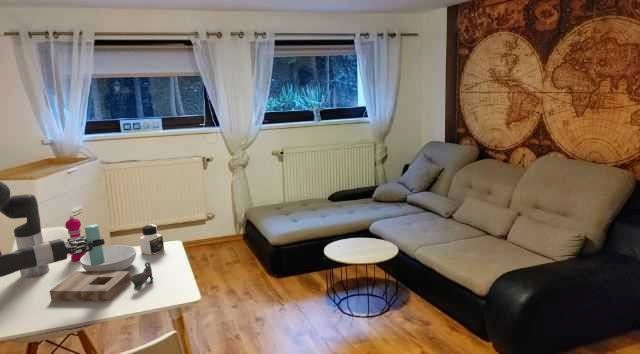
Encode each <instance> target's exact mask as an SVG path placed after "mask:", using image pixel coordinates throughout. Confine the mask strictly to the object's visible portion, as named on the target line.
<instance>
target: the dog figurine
mask: <svg viewBox="0 0 640 354" xmlns="http://www.w3.org/2000/svg"><path fill="white" fill-rule="evenodd" d="M144 265H145V266H144V267H145V268H144V269H143V271H142V272H140V273H135V274H131V276H130V280H131V282H130V283H132V284H133V288H134V290H137V291H140V290H141V289H142V286H143V285H144V284H145V283H147V281H148V279H149V283H148V284H149V285H152V284H153V281H154V277H153V271H152V267H151V263H150V262H149V261H148V262H147V261H146V262H145V263H144Z"/></svg>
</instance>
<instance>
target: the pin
mask: <svg viewBox="0 0 640 354" xmlns="http://www.w3.org/2000/svg"><path fill="white" fill-rule="evenodd" d="M84 232H85V237H86V239H87V242H88V241H94V240H98V239H102V238H101V231H100V227H99V224H89V225H86V226H85V227H84ZM87 247H89V246H87ZM102 248H103V245H100V246H96V247H94V248H93V250H91V251H88V253H89V256H90V262H91V265H93V266H96V265H100V264H103V263H104V262H105V261H104V255H103V249H102Z"/></svg>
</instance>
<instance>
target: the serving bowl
mask: <svg viewBox="0 0 640 354" xmlns="http://www.w3.org/2000/svg"><path fill="white" fill-rule="evenodd" d="M102 249H103V255H104V261H105V262H104V263H103V264H100V265H96V266H93V265H91V262H90V256H89V252H86V253H87V254H85V255H84V256H82V257H81V259H80V261H79V262H80V265H81V267H82V268H83V269H84V271H124V270H125V269H128V268H129V267H130V266H131V265H132V264H133V263H134V261H135V259H136V255H137V249H136V248H135V247H133V246H130V245H125V244H124V245H122V244H121V245H116V244H115V245H108V246H104V247H103V246H102Z"/></svg>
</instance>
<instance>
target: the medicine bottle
mask: <svg viewBox="0 0 640 354" xmlns="http://www.w3.org/2000/svg"><path fill="white" fill-rule="evenodd" d="M163 238H164V237H163V235H162V234H159V233H158V226H157V225H156V224H147V225H144V226H143V227H142V236H141V237H140V236H139V239H138V240H139V245H140V246H139V247H140V252H141V254H145V255H149V256H153V254H154V255H156V254H157V253H159V252H162V251H164V250H165V244H164V239H163Z"/></svg>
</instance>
